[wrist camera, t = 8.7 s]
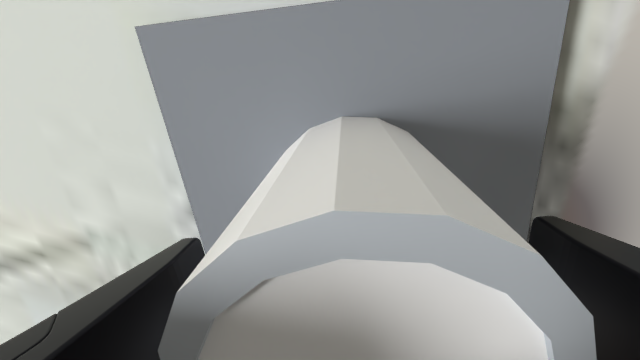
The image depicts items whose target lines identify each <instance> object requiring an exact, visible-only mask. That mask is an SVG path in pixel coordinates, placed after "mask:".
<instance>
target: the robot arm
mask: <svg viewBox="0 0 640 360" xmlns="http://www.w3.org/2000/svg"><path fill="white" fill-rule="evenodd" d="M529 244H530V245H531V246H532V247H533V248H534V249H535V250H536V251H537V252H538V253H539V254H540V255H541V256H542V257H543V258H544V259H545V260H546V261H547V263H548V264H549V265H550V266H551V267H552V268H553V270H554V271H555V272H556V273H557V274H558V276H559V277H560V278H561V279H562V280H563V281H564V283H565V284H566V285H567V286H568V287H569V289H570V290H571V291H572V292H573V293H574V294H575V296H576V297H577V298H578V299H579V300H580V301H581V303H582V304H583V305H584V306H585V307H586V309H587V310H588V311H589V312H590V313H591V314H592V316H593V321H594V333H595V345H596V357H597V360H640V248H638V247H635V246H632V245H630V244H627V243H624V242H622V241H619V240H616V239H614V238H611V237H608V236H606V235H603V234H600V233H598V232H595V231H592V230H589V229H587V228H584V227H581V226H579V225H576V224H573V223H571V222H568V221H565V220H563V219H560V218H557V217H554V216H543V217H536V218H535V219H534V220H533V223H532V228H531V233H530V239H529ZM204 256H205V254H204V251H203V247H202V244H201V242H200V240H199V239H198V238H185V239H182V240H180V241H179V242H177V243H175V244H173V245H172V246H170V247H168V248H167V249H165V250H163V251H161V252H160V253H158V254H156V255H155V256H153V257H151V258H150V259H148V260H146V261H144V262H143V263H141V264H139V265H138V266H136V267H134V268H132V269H131V270H129V271H127V272H126V273H124V274H122V275H120V276H119V277H117V278H115V279H114V280H112V281H110V282H109V283H107V284H105V285H103V286H102V287H100V288H98V289H97V290H95V291H93V292H91V293H90V294H88V295H86V296H85V297H83V298H81V299H80V300H78V301H76V302H74V303H73V304H71V305H69V306H68V307H66V308H64V309H62V310H61V311H59V312H58V314H54V315H52V316H50V317H49V318H47V319H45V320H44V321H42V322H40V323H38V324H37V325H35V326H33V327H31V328H30V329H28V330H26V331H24V332H23V333H21V334H19V335H17V336H16V337H14V338H12V339H10V340H8V341H7V342H5V343H3V344H1V345H0V360H160V357H159V353H158V348H159V345H160V342H161V339H162V336H163V333H164V330H165V327H166V324H167V320H168V317H169V314H170V311H171V308H172V305H173V302H174V299H175V296H176V293H177V291H178V290H179V289H180V288H181V286H182V285H183V284H184V282H185V281H186V280H187V278H188V277H189V276H190V275H191V273H192V272H193V271H194V269H195V268H196V267H197V265H198V264H199V263H200V262H201V260H202V259H203V258H204Z"/></svg>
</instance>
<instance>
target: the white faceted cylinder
mask: <svg viewBox="0 0 640 360" xmlns="http://www.w3.org/2000/svg"><path fill="white" fill-rule="evenodd" d="M158 353H159V357H160V360H597V357H596V345H595V333H594V321H593V316H592V314H591V313H590V312H589V311H588V310H587V309H586V307H585V306H584V305H583V304H582V303H581V301H580V300H579V299H578V298H577V297H576V296H575V294H574V293H573V292H572V291H571V290H570V289H569V287H568V286H567V285H566V284H565V283H564V281H563V280H562V279H561V278H560V277H559V276H558V274H557V273H556V272H555V271H554V270H553V268H552V267H551V266H550V265H549V264H548V263H547V261H546V260H545V259H544V258H543V257H542V256H541V255H540V254H539V253H538V252H537V251H536V250H535V249H534V248H533V247H532V246H531V245H530V244H528V243H527V242H526V241H525V240H524V239H523V238H522V237H521V236H520V235H519V234H518V233H517V232H516V231H514V230H513V229H512V228H511V227H510V226H509V225H508V224H507V223H506V222H505V221H504V220H503V219H501V218H500V217H499V216H498V215H497V214H496V213H495V212H494V211H493V210H492V209H491V208H490V207H489V206H487V205H486V204H485V203H484V202H483V201H482V200H481V199H480V198H479V197H478V196H477V195H476V194H474V193H473V192H472V191H471V190H470V189H469V188H468V187H467V186H466V185H465V184H464V183H463V182H462V181H460V180H459V179H458V178H457V177H456V176H455V175H454V174H453V173H452V172H451V171H450V170H449V169H447V168H446V167H445V166H444V165H443V164H442V163H441V162H440V161H439V160H438V159H437V158H436V157H435V156H433V155H432V154H431V153H430V152H429V151H428V150H427V149H426V148H425V147H424V146H423V145H422V144H420V143H419V142H418V141H417V140H416V139H415V138H414V137H413V136H412V135H411V134H410V133H409V132H407V131H405V130H403V129H401V128H398V127H396V126H394V125H392V124H390V123H387V122H385V121H383V120H381V119H379V118H370V117H339V118H336V119H334V120H331V121H328V122H326V123H323V124H320V125H317V126H315V127H312V128H309V129H308V130H307V131H306V132H305V133H304V134H303V135H302V136H301V137H300V138H299V139H298V140H297V141H295V142H294V143H293V144H292V145H291V146H290V147H289V148H288V149H287V150H286V151H285V152H284V154H283V155H282V156H281V157H280V159H279V160H278V161H277V163H276V164H275V165H274V167H273V168H272V169H271V170H270V172H269V173H268V174H267V176H266V177H265V178H264V180H263V181H262V182H261V184H260V185H259V186H258V187H257V189H256V190H255V191H254V193H253V194H252V195H251V197H250V198H249V199H248V200H247V202H246V203H245V204H244V206H243V207H242V208H241V210H240V211H239V212H238V213H237V215H236V216H235V217H234V219H233V220H232V221H231V223H230V224H229V225H228V226H227V228H226V229H225V230H224V232H223V233H222V234H221V236H220V237H219V238H218V239H217V241H216V242H215V243H214V245H213V246H212V247H211V249H210V250H209V251H208V252H207V254H206V255H205V256H204V258H203V259H202V260H201V262H200V263H199V264H198V265H197V267H196V268H195V269H194V271H193V272H192V273H191V275H190V276H189V277H188V278H187V280H186V281H185V282H184V284H183V285H182V286H181V288H180V289H179V290H178V291H177V293H176V296H175V299H174V302H173V305H172V308H171V311H170V314H169V317H168V320H167V324H166V327H165V330H164V333H163V336H162V339H161V342H160V345H159V348H158Z"/></svg>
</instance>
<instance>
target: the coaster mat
mask: <svg viewBox="0 0 640 360" xmlns="http://www.w3.org/2000/svg"><path fill="white" fill-rule="evenodd" d="M569 1H570V0H336V1H328V2H321V3H313V4H305V5H297V6H290V7H282V8H274V9H267V10H259V11H251V12H244V13H236V14H228V15H220V16H213V17H205V18H197V19H190V20H182V21H174V22H167V23H159V24H151V25H143V26H136V27H135V29H136V33H137V36H138V39H139V42H140V45H141V48H142V52H143V55H144V58H145V61H146V64H147V68H148V71H149V74H150V77H151V80H152V84H153V87H154V90H155V93H156V96H157V100H158V103H159V106H160V109H161V112H162V116H163V119H164V122H165V125H166V128H167V132H168V135H169V138H170V141H171V144H172V148H173V151H174V154H175V157H176V160H177V164H178V167H179V170H180V173H181V176H182V179H183V183H184V186H185V189H186V192H187V195H188V199H189V202H190V205H191V208H192V211H193V215H194V218H195V221H196V224H197V227H198V231H199V234H200V237H201V240H202V243H203V247H204V250H205V253H206V254H207V252H208V251H209V250H210V249H211V247H212V246H213V245H214V243H215V242H216V241H217V239H218V238H219V237H220V236H221V234H222V233H223V232H224V230H225V229H226V228H227V226H228V225H229V224H230V223H231V221H232V220H233V219H234V217H235V216H236V215H237V213H238V212H239V211H240V210H241V208H242V207H243V206H244V204H245V203H246V202H247V200H248V199H249V198H250V197H251V195H252V194H253V193H254V191H255V190H256V189H257V187H258V186H259V185H260V184H261V182H262V181H263V180H264V178H265V177H266V176H267V174H268V173H269V172H270V170H271V169H272V168H273V167H274V165H275V164H276V163H277V161H278V160H279V159H280V157H281V156H282V155H283V154H284V152H285V151H286V150H287V149H288V148H289V147H290V146H291V145H292V144H293V143H294V142H295V141H297V140H298V139H299V138H300V137H301V136H302V135H303V134H304V133H305V132H306V131H307V130H308V129H309V128H312V127H315V126H317V125H320V124H323V123H326V122H328V121H331V120H334V119H336V118H339V117H370V118H379V119H381V120H383V121H385V122H387V123H390V124H392V125H394V126H396V127H398V128H401V129H403V130H405V131H407V132H409V133H410V134H411V135H412V136H413V137H414V138H415V139H416V140H417V141H418V142H419V143H420V144H422V145H423V146H424V147H425V148H426V149H427V150H428V151H429V152H430V153H431V154H432V155H433V156H435V157H436V158H437V159H438V160H439V161H440V162H441V163H442V164H443V165H444V166H445V167H446V168H447V169H449V170H450V171H451V172H452V173H453V174H454V175H455V176H456V177H457V178H458V179H459V180H460V181H462V182H463V183H464V184H465V185H466V186H467V187H468V188H469V189H470V190H471V191H472V192H473V193H474V194H476V195H477V196H478V197H479V198H480V199H481V200H482V201H483V202H484V203H485V204H486V205H487V206H489V207H490V208H491V209H492V210H493V211H494V212H495V213H496V214H497V215H498V216H499V217H500V218H501V219H503V220H504V221H505V222H506V223H507V224H508V225H509V226H510V227H511V228H512V229H513V230H514V231H516V232H517V233H518V234H519V235H520V236H521V237H522V238H523V239H524V240H525V241H526V242H527V237H528V231H529V225H530V220H531V214H532V209H533V203H534V197H535V192H536V186H537V181H538V175H539V169H540V164H541V158H542V152H543V147H544V141H545V136H546V130H547V124H548V119H549V113H550V108H551V102H552V96H553V91H554V85H555V80H556V74H557V68H558V63H559V57H560V52H561V46H562V40H563V35H564V29H565V24H566V18H567V12H568V7H569Z"/></svg>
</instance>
